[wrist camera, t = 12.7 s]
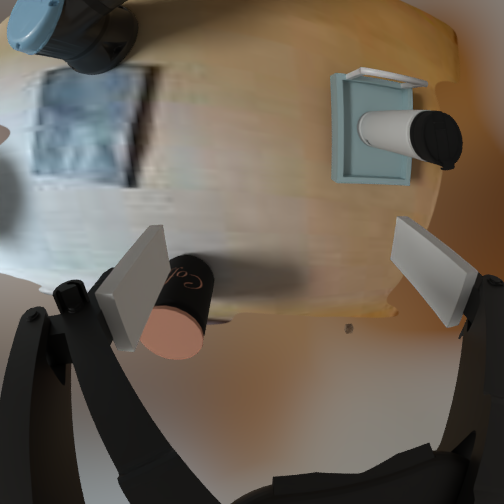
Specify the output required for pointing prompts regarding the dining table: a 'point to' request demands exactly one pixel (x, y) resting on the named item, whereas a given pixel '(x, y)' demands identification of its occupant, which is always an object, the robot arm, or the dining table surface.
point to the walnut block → (348, 328)
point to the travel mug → (413, 134)
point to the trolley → (346, 118)
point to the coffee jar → (180, 310)
